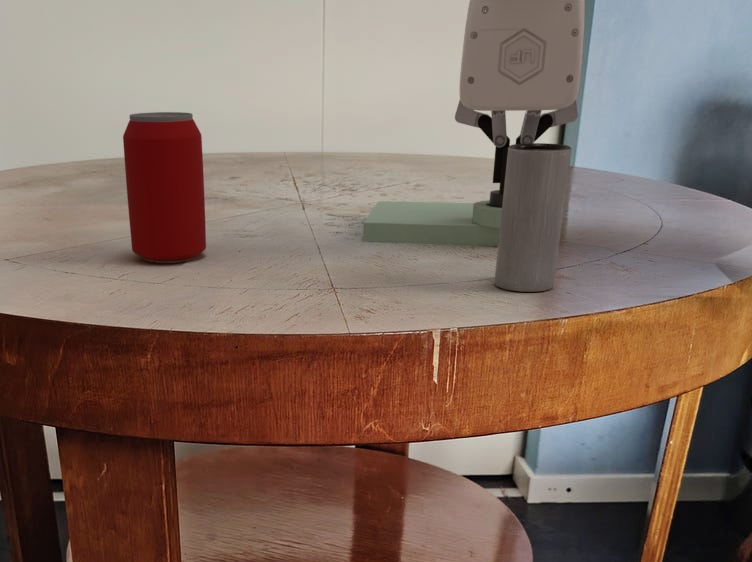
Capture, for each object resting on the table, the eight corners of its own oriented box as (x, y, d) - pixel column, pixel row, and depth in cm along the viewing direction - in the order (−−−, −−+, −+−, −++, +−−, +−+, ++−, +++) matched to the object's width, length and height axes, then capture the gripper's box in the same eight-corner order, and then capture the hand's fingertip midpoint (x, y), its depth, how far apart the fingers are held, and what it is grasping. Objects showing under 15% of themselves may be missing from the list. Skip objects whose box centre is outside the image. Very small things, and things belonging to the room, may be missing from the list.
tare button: (518, 207, 86) (520, 190, 85) (519, 212, 83) (521, 194, 83) (488, 206, 86) (490, 189, 86) (488, 211, 84) (490, 193, 83)
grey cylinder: (563, 285, 71) (583, 145, 66) (534, 295, 68) (552, 150, 64) (513, 276, 74) (528, 141, 69) (483, 285, 71) (496, 146, 66)
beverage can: (184, 247, 86) (177, 110, 80) (220, 259, 81) (215, 114, 75) (120, 255, 83) (107, 114, 77) (153, 269, 78) (142, 118, 72)
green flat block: (526, 223, 95) (530, 188, 94) (532, 249, 83) (537, 210, 82) (377, 219, 98) (378, 185, 97) (361, 244, 86) (363, 206, 85)
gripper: (437, -36, 74) (425, 197, 82) (629, -44, 71) (596, 198, 79) (441, -30, 80) (429, 185, 89) (617, -38, 77) (587, 186, 86)
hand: (508, 191), depth 84 cm, fingers closed
